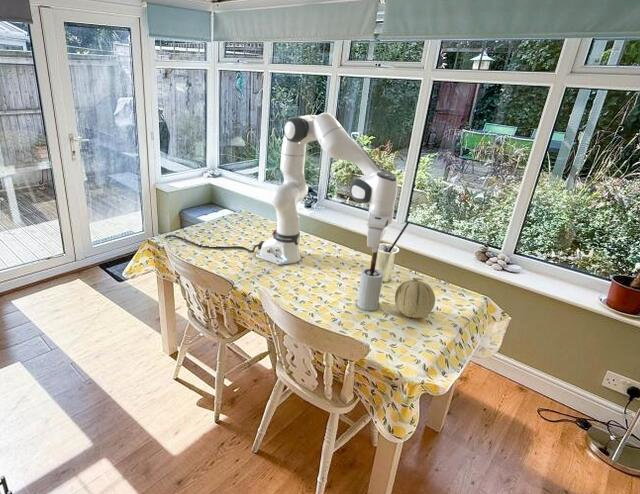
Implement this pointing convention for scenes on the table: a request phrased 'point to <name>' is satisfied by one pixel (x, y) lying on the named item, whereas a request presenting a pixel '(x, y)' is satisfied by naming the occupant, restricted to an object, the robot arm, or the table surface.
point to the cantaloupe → (414, 298)
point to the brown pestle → (373, 264)
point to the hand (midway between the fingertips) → (375, 250)
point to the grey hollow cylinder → (369, 290)
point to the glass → (387, 257)
